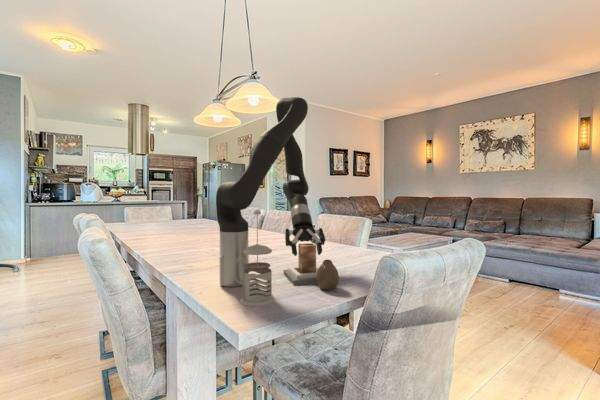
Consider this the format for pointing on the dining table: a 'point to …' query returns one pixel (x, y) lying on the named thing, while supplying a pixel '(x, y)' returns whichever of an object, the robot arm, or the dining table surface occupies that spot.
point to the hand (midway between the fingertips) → (307, 254)
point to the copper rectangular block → (307, 258)
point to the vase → (327, 275)
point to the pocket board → (300, 276)
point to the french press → (256, 276)
